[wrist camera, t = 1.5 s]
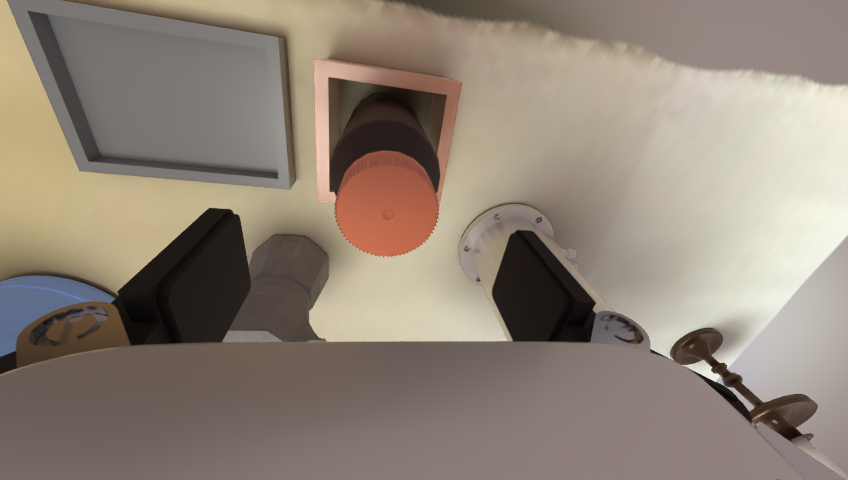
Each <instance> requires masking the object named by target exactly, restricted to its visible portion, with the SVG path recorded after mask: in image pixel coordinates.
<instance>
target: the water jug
mask: <svg viewBox="0 0 848 480" xmlns="http://www.w3.org/2000/svg"><path fill="white" fill-rule="evenodd" d="M113 300H115V298H114V297H112V296H111V295H109V294H107V293H106V292H104V291H102V290H100V289H97V288H95V287H93V286H90V285H88V284H85V283H82V282H79V281H75V280H71V279H67V278H62V277H55V276H44V275H31V276H20V277H15V278H10V279H7V280H4V281H1V282H0V357H1V356H3V355H6V354H9V353H11V352H14V351H16V341H17V338H18V335H19V334H20V333H21V332H22V331H23V330H24V328H25V327H26V326H28V325H29V324H31V323H32V322H33V321H35V320H36V319H38V318H40V317H42V316H44V315H46V314H48V313H50V312H52V311H54V310H57V309H60V308H63V307H65V306H69V305H73V304H77V303H82V302H92V301H100V302H107V303H111V302H112V301H113Z"/></svg>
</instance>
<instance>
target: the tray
mask: <svg viewBox="0 0 848 480" xmlns="http://www.w3.org/2000/svg"><path fill="white" fill-rule="evenodd" d="M7 2H8V4H9V7H10V9H11V11H12V14H13V16H14V18H15V21H16V23H17V25H18V28H19V30H20V32H21V35H22V37H23V39H24V42H25V44H26V46H27V49H28V51H29V53H30V56H31V58H32V60H33V63H34V65H35V68H36V70H37V72H38V75H39V77H40V79H41V82H42V84H43V86H44V89H45V91H46V93H47V96H48V98H49V100H50V103H51V105H52V107H53V110H54V112H55V114H56V117H57V119H58V122H59V124H60V126H61V129H62V131H63V133H64V136H65V138H66V140H67V143H68V145H69V147H70V150H71V152H72V154H73V157H74V159H75V161H76V164H77V166H78V168H79V171H84V172H96V173H107V174H119V175H130V176H141V177H153V178H164V179H176V180H187V181H199V182H210V183H221V184H233V185H244V186H256V187H267V188H278V189H291V187H292V186H293V184H294V183H295V181H296V177H295V162H294V147H293V132H292V117H291V102H290V87H289V72H288V56H287V41H286V38H281V37H275V36H269V35H263V34H258V33H252V32H246V31H240V30H234V29H228V28H222V27H216V26H210V25H204V24H199V23H193V22H187V21H181V20H175V19H169V18H163V17H157V16H151V15H145V14H140V13H134V12H128V11H122V10H116V9H110V8H104V7H98V6H92V5H86V4H81V3H75V2H69V1H63V0H7Z"/></svg>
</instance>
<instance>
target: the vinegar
mask: <svg viewBox="0 0 848 480" xmlns="http://www.w3.org/2000/svg"><path fill="white" fill-rule="evenodd" d="M440 176H441V173H440V167H439V160H438V156H437V154H436V152H435V150H434V148H433V146H432V144H431V142H430V141H429V139H428V137H427V135H426V134H425V132H424V130H423V129H422V127H421V125H420V123H419V122H418V120H417V118H416V117H415V115H414V113H413V111H412V110H411V108H410V107H409V106H408V105H407V104H406V103H405V102H404V101H403V100H402V99H400V98H398V97H396V96H394V95H391V94H383V93H380V94H375V95H370V96H369V97H367V98H366V99H364V100H362V101H361V102H360V103H359V105H358V106H357V107H356V108H355V110H354V111H353V113H352V115H351V117H350V119H349V121H348V123H347V125H346V127H345V129H344V131H343V133H342V135H341V137H340V139H339V141H338V143H337V145H336V147H335V150H334V153H333V156H332V159H331V162H330V182H331V184H332V187H333V190H334V193H335V195H336V200H335V201H336V202H335V214H336V216H335V218H337V220H336V222H338V226H340V228H339V230H341V231H342V232H341V233H343V234H344V237H345V236H346V237H347V238H346V240H349V243H350V242H351V243H352V245H355V246H356V248H357V247H358V248H359V250H362V251H363V252H364V251H365V252H367V253H371V255H372V254H374V255H375V256H376V255H377V256H379V257H380V256H383V257H384V256H387V257H388V256H391V257H392V256H396V255H400V254H404V253H408V252H409V251H412V250H413V249H415V248H417V247H419V246H420V245H422V243H423V242H425V240H426V239H427V240H428V237H429V236H430V234H431V233H433V232H432V230H435V229H434V226H436V223H437V219H438V215H439V213H438V211H439V208H438V207H439V205H438V199H437V195H436V193H437V191H438V188H439V182H440Z"/></svg>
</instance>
